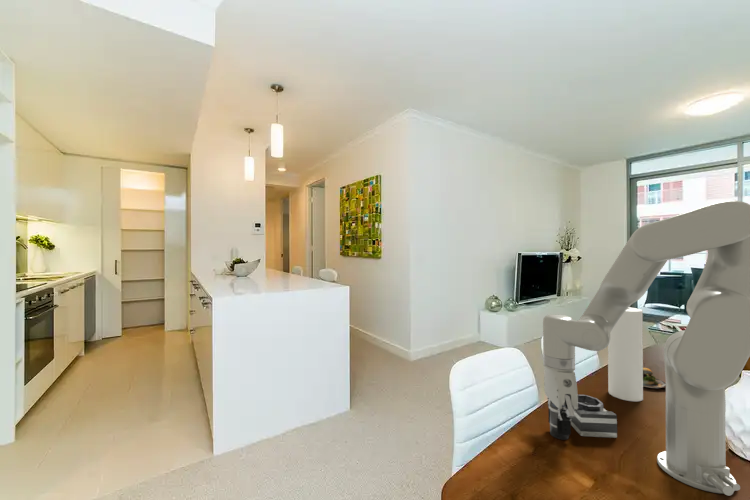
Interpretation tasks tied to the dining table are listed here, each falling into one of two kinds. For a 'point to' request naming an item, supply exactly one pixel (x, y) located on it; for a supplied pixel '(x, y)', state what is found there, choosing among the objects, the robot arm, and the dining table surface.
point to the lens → (555, 422)
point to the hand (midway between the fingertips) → (559, 428)
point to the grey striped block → (593, 418)
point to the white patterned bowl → (651, 380)
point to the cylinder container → (626, 357)
